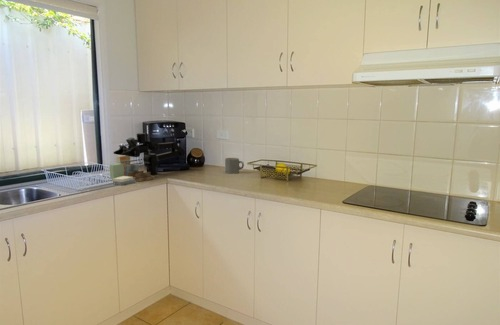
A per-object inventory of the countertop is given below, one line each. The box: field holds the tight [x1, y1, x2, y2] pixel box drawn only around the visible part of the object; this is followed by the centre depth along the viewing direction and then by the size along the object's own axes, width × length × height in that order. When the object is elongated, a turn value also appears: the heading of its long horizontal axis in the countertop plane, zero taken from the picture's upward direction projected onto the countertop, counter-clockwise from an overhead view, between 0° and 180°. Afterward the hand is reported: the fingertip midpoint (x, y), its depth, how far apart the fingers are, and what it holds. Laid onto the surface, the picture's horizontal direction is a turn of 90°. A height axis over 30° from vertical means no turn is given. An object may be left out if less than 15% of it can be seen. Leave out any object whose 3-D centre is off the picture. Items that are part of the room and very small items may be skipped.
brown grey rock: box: [123, 163, 154, 183], centre depth 222 cm, size 11×20×8 cm, turn 52°
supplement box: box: [115, 155, 131, 166], centre depth 237 cm, size 8×5×13 cm, turn 143°
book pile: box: [112, 176, 136, 186], centre depth 208 cm, size 11×9×3 cm
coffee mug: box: [224, 157, 245, 175], centre depth 246 cm, size 13×10×10 cm
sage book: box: [109, 163, 124, 181], centre depth 218 cm, size 7×4×10 cm, turn 142°
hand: (117, 153), depth 216 cm, fingers open, 9 cm apart
